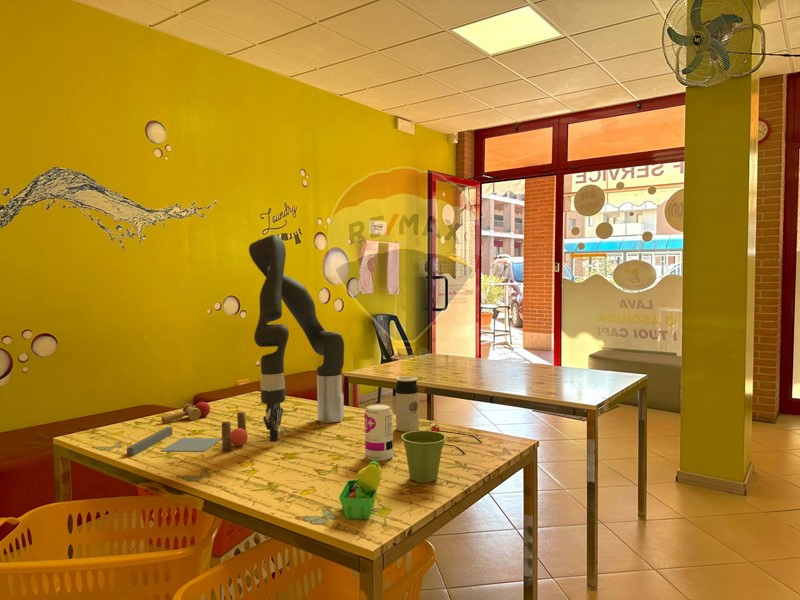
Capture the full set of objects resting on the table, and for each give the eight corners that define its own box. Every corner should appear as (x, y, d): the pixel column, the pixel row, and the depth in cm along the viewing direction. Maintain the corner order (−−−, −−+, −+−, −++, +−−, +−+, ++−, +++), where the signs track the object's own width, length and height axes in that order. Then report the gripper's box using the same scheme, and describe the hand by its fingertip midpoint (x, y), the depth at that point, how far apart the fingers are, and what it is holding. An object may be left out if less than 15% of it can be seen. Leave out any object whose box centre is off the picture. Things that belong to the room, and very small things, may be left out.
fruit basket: (348, 500, 132) (347, 453, 132) (385, 501, 132) (384, 454, 131) (338, 521, 121) (337, 470, 121) (378, 522, 120) (378, 470, 120)
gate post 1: (232, 450, 173) (231, 421, 173) (229, 452, 171) (228, 423, 170) (224, 450, 174) (223, 421, 173) (221, 452, 171) (220, 423, 171)
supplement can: (372, 463, 159) (371, 411, 158) (361, 455, 166) (360, 405, 166) (398, 459, 162) (397, 408, 162) (385, 451, 170) (384, 402, 169)
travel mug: (392, 428, 197) (391, 377, 196) (413, 425, 200) (412, 375, 199) (401, 433, 189) (400, 380, 189) (422, 430, 193) (422, 379, 192)
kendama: (168, 429, 205) (215, 414, 217) (164, 412, 205) (211, 398, 217) (161, 429, 210) (207, 414, 222) (157, 413, 210) (203, 399, 222)
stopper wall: (172, 434, 193) (172, 427, 193) (133, 456, 169) (133, 447, 169) (166, 434, 193) (166, 426, 193) (126, 455, 169) (126, 447, 169)
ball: (234, 443, 181) (250, 444, 180) (225, 447, 176) (242, 448, 175) (234, 426, 181) (250, 427, 180) (226, 429, 176) (242, 430, 175)
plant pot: (413, 490, 138) (412, 445, 138) (394, 475, 149) (394, 433, 149) (455, 482, 143) (454, 439, 143) (434, 468, 154) (433, 428, 154)
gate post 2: (247, 438, 186) (246, 411, 186) (244, 440, 183) (243, 413, 183) (239, 438, 186) (239, 411, 186) (236, 440, 184) (236, 413, 183)
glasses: (436, 437, 186) (436, 422, 185) (483, 444, 177) (483, 428, 177) (417, 449, 173) (416, 433, 173) (466, 456, 165) (465, 440, 165)
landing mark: (222, 438, 186) (222, 438, 186) (204, 451, 172) (204, 451, 172) (182, 438, 187) (182, 437, 187) (160, 451, 173) (160, 450, 173)
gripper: (268, 383, 184) (269, 435, 184) (254, 391, 170) (255, 447, 171) (290, 383, 183) (291, 435, 184) (278, 391, 170) (279, 447, 170)
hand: (274, 441), depth 177 cm, fingers closed
